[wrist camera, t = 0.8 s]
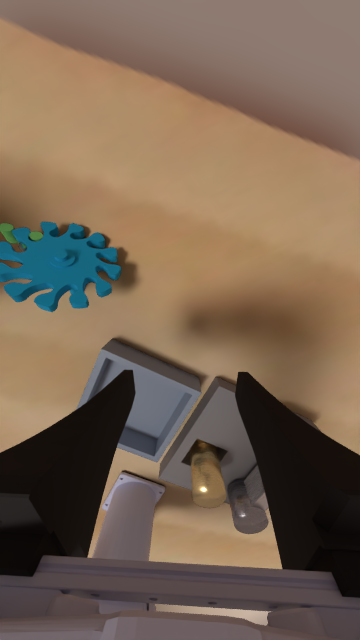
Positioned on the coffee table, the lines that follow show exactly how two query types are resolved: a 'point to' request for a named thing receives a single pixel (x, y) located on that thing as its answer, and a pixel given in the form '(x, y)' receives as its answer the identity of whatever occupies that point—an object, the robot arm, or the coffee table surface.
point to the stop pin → (206, 475)
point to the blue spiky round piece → (56, 264)
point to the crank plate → (213, 438)
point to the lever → (248, 503)
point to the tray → (146, 397)
